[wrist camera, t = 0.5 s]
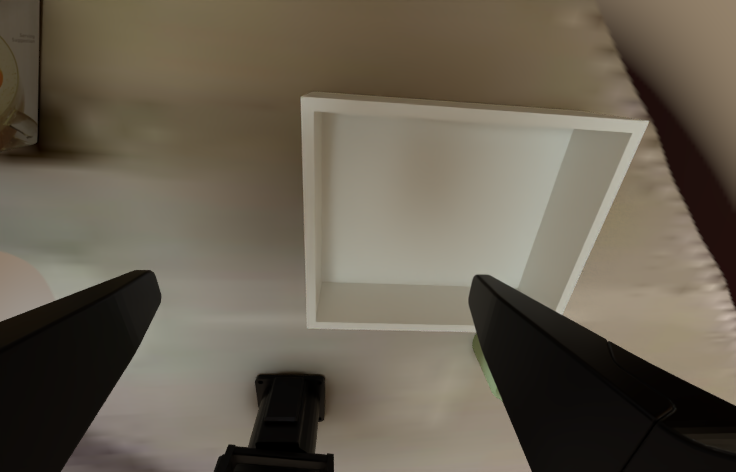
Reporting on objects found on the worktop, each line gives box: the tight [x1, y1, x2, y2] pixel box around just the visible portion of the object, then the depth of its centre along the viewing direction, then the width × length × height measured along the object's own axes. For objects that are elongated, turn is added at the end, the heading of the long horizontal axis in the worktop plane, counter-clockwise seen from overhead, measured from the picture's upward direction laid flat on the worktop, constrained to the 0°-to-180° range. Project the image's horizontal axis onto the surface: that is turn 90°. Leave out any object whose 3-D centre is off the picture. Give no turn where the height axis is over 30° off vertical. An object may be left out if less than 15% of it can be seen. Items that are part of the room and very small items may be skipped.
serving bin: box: [301, 91, 649, 332], centre depth 21 cm, size 14×17×5 cm
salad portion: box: [472, 333, 503, 402], centre depth 27 cm, size 5×5×6 cm
